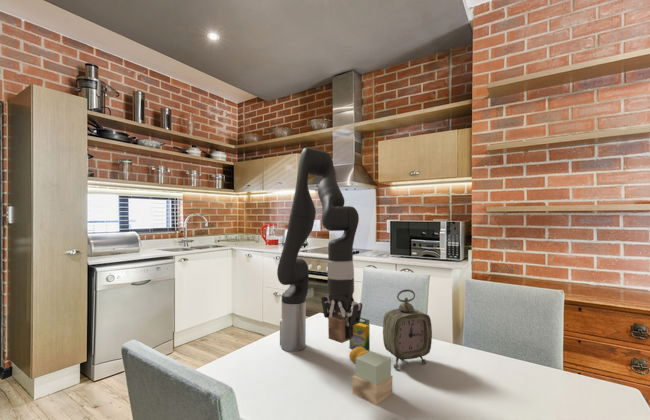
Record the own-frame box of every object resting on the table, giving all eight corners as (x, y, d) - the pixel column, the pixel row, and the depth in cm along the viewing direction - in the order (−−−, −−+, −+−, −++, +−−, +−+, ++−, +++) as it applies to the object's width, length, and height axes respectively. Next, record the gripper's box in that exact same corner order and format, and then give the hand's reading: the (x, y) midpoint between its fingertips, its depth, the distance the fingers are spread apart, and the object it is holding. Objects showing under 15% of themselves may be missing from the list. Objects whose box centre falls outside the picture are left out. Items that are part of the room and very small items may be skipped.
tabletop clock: (394, 372, 102) (394, 294, 102) (380, 360, 110) (380, 288, 111) (432, 366, 107) (431, 290, 107) (415, 354, 115) (415, 285, 116)
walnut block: (328, 338, 91) (328, 317, 91) (340, 333, 94) (340, 313, 94) (341, 343, 87) (341, 321, 87) (353, 338, 91) (353, 316, 91)
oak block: (352, 394, 90) (352, 376, 90) (369, 383, 96) (369, 366, 96) (376, 405, 85) (376, 386, 85) (392, 393, 90) (392, 375, 90)
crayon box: (349, 348, 120) (349, 317, 121) (353, 345, 123) (353, 315, 123) (365, 353, 116) (365, 321, 116) (369, 351, 118) (369, 319, 118)
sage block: (355, 376, 90) (355, 358, 90) (370, 367, 95) (370, 350, 95) (375, 385, 85) (375, 366, 85) (390, 376, 90) (390, 358, 90)
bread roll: (364, 369, 105) (364, 356, 105) (345, 359, 111) (345, 348, 111) (380, 361, 110) (380, 349, 110) (361, 352, 117) (361, 341, 117)
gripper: (313, 274, 93) (314, 333, 93) (351, 281, 83) (352, 347, 83) (331, 271, 99) (331, 327, 98) (368, 277, 89) (369, 339, 88)
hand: (341, 335), depth 91 cm, fingers closed on walnut block, 5 cm apart
